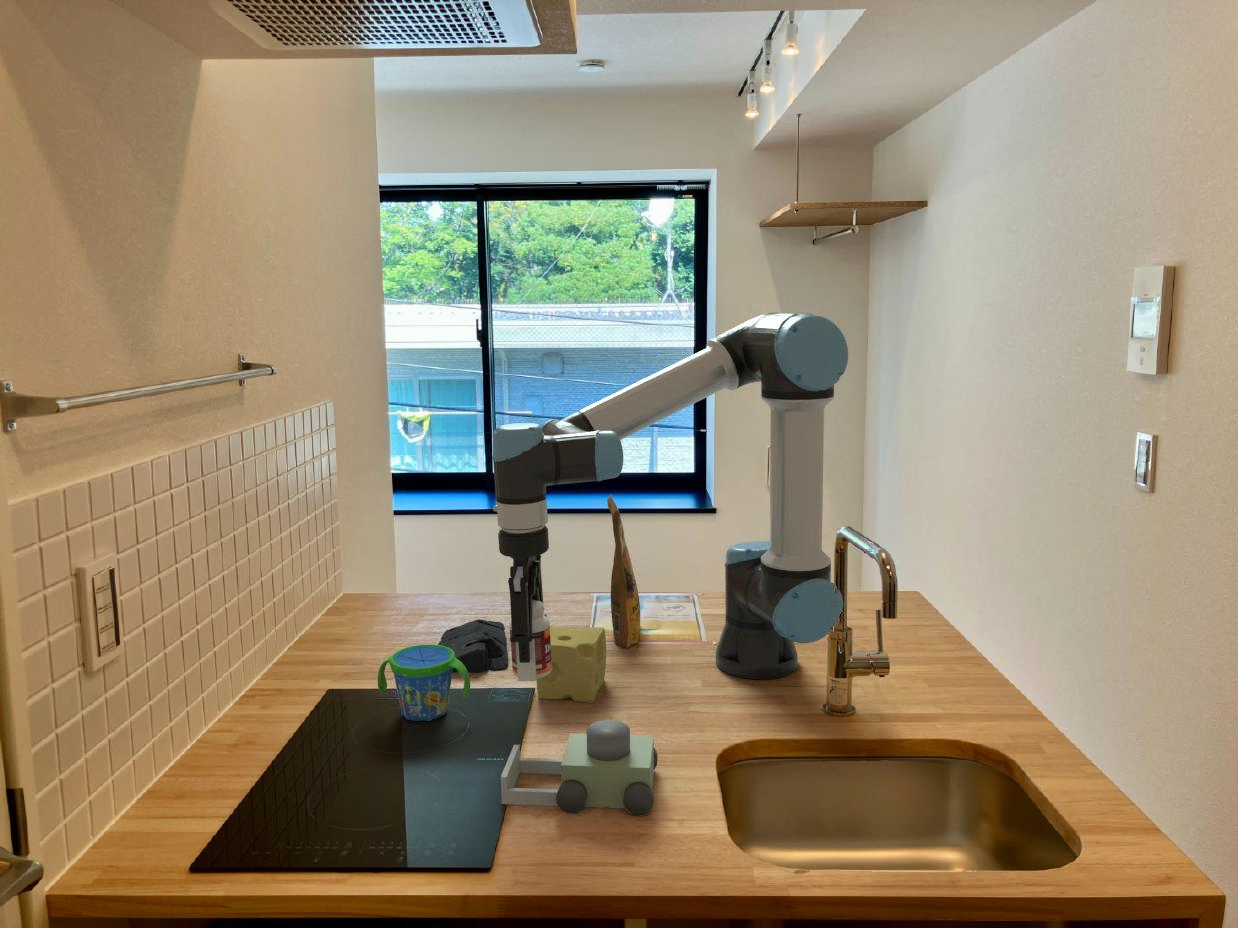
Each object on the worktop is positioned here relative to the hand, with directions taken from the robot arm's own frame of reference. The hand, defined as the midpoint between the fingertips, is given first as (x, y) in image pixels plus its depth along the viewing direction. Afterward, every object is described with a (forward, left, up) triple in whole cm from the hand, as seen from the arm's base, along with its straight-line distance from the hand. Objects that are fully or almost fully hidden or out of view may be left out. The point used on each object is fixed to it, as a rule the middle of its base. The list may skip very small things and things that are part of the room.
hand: (531, 670), depth 142 cm
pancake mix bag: (-10, -45, -11) cm, 47 cm away
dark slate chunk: (+18, -34, -12) cm, 41 cm away
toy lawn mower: (-9, +15, -11) cm, 21 cm away
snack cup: (+20, -7, -11) cm, 24 cm away
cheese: (-3, -18, -11) cm, 21 cm away
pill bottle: (0, 0, -1) cm, 1 cm away
